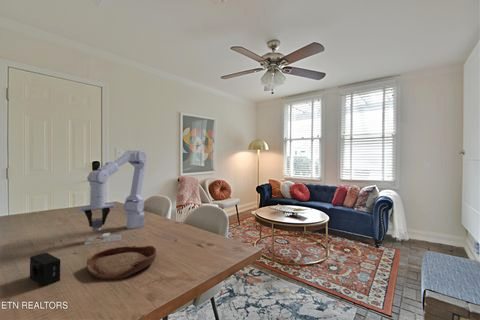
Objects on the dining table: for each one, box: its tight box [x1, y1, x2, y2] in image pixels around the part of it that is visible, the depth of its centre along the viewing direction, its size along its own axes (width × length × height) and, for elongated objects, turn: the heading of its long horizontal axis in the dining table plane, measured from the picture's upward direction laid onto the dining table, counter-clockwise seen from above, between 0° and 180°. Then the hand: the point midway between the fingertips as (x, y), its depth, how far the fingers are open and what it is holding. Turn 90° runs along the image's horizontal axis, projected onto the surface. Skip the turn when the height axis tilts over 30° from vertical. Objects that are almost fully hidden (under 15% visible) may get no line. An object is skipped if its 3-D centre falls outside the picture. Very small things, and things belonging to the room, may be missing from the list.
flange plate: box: [84, 233, 123, 245], centre depth 104 cm, size 14×8×2 cm, turn 114°
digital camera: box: [29, 252, 61, 288], centre depth 71 cm, size 10×5×7 cm, turn 60°
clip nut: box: [91, 217, 103, 232], centre depth 103 cm, size 4×4×5 cm
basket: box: [86, 245, 157, 281], centre depth 81 cm, size 22×20×5 cm
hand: (97, 225), depth 103 cm, fingers closed on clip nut, 4 cm apart
